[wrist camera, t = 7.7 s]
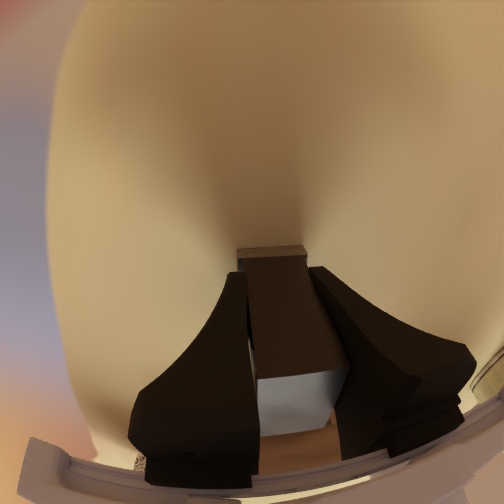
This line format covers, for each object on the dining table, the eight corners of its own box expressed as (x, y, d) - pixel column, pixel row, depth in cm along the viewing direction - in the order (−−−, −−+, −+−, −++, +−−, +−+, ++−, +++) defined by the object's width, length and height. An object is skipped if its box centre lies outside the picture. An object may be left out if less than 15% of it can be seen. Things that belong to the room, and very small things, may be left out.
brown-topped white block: (236, 249, 12) (247, 379, 7) (303, 245, 13) (359, 365, 7) (246, 413, 20) (253, 488, 14) (283, 409, 20) (296, 483, 14)
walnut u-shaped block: (189, 409, 19) (186, 477, 14) (338, 396, 20) (357, 458, 15) (204, 444, 23) (205, 495, 18) (320, 434, 24) (332, 482, 19)
